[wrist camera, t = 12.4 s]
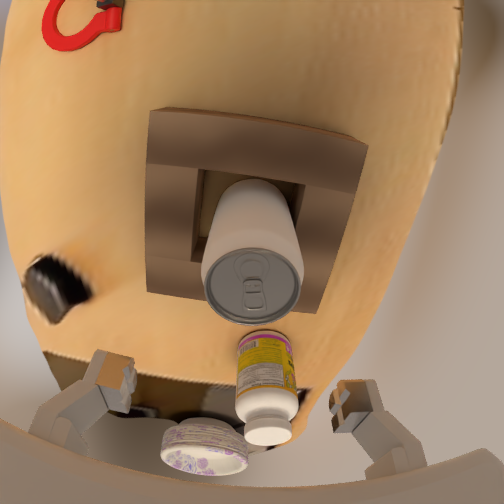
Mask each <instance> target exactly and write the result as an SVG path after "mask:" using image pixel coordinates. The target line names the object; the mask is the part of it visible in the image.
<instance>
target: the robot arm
mask: <svg viewBox="0 0 504 504" xmlns="http://www.w3.org/2000/svg"><path fill="white" fill-rule="evenodd" d="M134 364H135V362H134V358H132V357H128V356H123V355H119V354H115V353H111V352H108V351H104V350H99V349H97V350H96V351H95V353H94V355H93V357H92V360H91V362H90V364H89V366H88V369H87V371H86V373H85V376H84V378H83V380H78V381H77V382H75V383H74V384H72V385H71V386H69V387H68V388H66V389H65V390H63V391H62V392H60V393H59V394H57V395H56V396H54V397H53V398H51V399H50V400H48V401H47V402H45V403H44V404H42V405H41V406H40V407H39V408H38V410H37V412H36V415H35V417H34V419H33V422H32V424H31V427H30V429H29V432H25V431H24V430H22V429H20V428H18V427H16V426H14V425H12V424H10V423H8V422H6V421H4V420H2V419H1V418H0V504H504V465H503V463H502V462H501V461H500V460H499V459H498V458H497V457H496V456H495V455H493V454H492V453H491V452H490V451H488V450H487V449H484V448H481V449H478V450H475V451H472V452H470V453H467V454H464V455H462V456H459V457H456V458H453V459H450V460H447V461H444V462H440V463H437V464H434V465H430V466H427V462H426V459H425V455H424V452H423V448H422V445H421V442H420V441H419V440H418V439H417V438H416V437H415V436H414V435H413V434H411V433H410V432H409V431H408V430H407V429H406V428H405V427H404V426H403V425H402V424H401V423H400V422H399V421H398V420H397V419H396V418H395V417H394V416H393V415H391V414H390V413H389V412H388V411H385V410H384V407H383V404H382V400H381V397H380V394H379V391H378V388H377V384H376V381H375V380H373V379H372V380H371V379H369V380H362V379H358V380H340V381H339V382H338V383H337V389H335V390H333V391H332V393H331V395H330V399H329V409H330V412H331V413H332V414H333V415H334V416H333V418H332V420H331V421H332V426H333V433H349V432H352V435H353V436H354V437H355V438H356V440H357V441H358V442H359V444H360V445H361V446H362V447H363V449H364V450H365V451H366V452H367V454H368V455H369V456H370V458H371V459H372V460H373V461H374V464H372V465H371V466H370V467H368V468H367V469H366V470H365V475H366V480H361V481H355V482H348V483H339V484H329V485H318V486H301V487H247V486H231V485H219V484H209V483H201V482H193V481H185V480H180V479H173V478H168V477H162V476H158V475H152V474H148V473H144V472H139V471H134V470H131V469H127V468H123V467H119V466H116V465H112V464H109V463H105V462H102V461H99V460H96V459H93V458H89V457H87V453H88V449H89V446H88V444H87V443H86V442H85V440H84V439H83V438H82V436H81V434H82V433H83V432H85V431H86V430H87V429H88V428H89V427H90V426H91V425H93V424H94V423H95V422H96V421H97V420H98V419H99V418H100V417H101V416H103V415H104V414H105V413H106V412H107V411H108V409H111V410H115V411H119V412H123V413H128V411H129V408H130V404H131V401H132V399H131V396H130V394H131V393H132V392H134V391H135V387H136V382H137V372H136V369H135V368H134Z"/></svg>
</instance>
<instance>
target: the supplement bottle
mask: <svg viewBox="0 0 504 504" xmlns="http://www.w3.org/2000/svg"><path fill="white" fill-rule="evenodd" d="M235 410H236V413H237V415H238V417H239V418H240V419H241V420H242V421H243V422H245V423H246V424H245V427H244V437H245V440H246V441H248V442H249V443H252V444H255V445H262V446H268V445H277V444H281V443H284V442H286V441H287V440H289V439H290V438H291V436H292V430H291V424H290V422H289V420H291V419H292V418H293V417H294V416H295V414H296V413H297V410H298V397H297V389H296V380H295V372H294V364H293V356H292V349H291V345H290V342H289V341H288V339H287V338H286V337H285V336H283V335H282V334H280V333H277V332H274V331H257V332H253V333H251V334H249V335H247V336H246V337H244V338H243V339H242V340H241V342H240V344H239V346H238V354H237V380H236V403H235Z"/></svg>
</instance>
